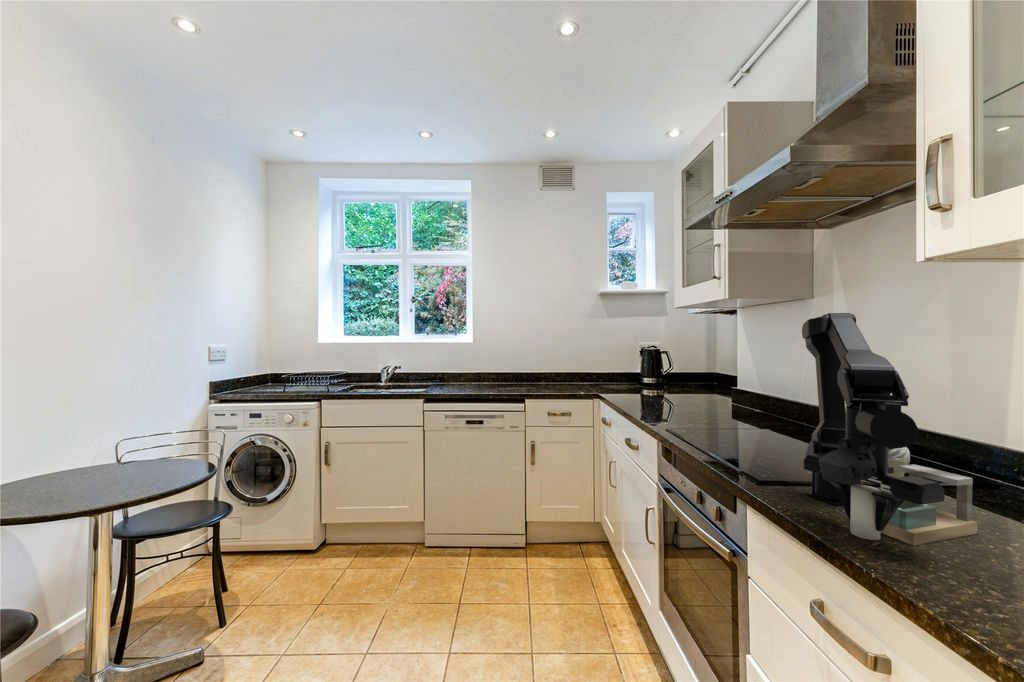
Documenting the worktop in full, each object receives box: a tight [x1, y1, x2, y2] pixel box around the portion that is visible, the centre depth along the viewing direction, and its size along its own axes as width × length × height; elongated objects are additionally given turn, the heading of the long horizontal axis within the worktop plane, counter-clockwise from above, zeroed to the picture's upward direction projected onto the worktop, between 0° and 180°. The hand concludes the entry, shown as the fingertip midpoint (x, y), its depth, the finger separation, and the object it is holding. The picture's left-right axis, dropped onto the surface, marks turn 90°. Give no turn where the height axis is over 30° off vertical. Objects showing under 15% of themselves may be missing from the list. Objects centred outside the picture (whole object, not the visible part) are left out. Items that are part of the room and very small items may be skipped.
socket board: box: [848, 463, 979, 546], centre depth 76 cm, size 10×16×10 cm, turn 107°
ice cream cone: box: [888, 447, 911, 478], centre depth 92 cm, size 5×5×15 cm
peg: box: [849, 484, 882, 541], centre depth 72 cm, size 4×4×8 cm
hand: (865, 525), depth 72 cm, fingers closed on peg, 4 cm apart
